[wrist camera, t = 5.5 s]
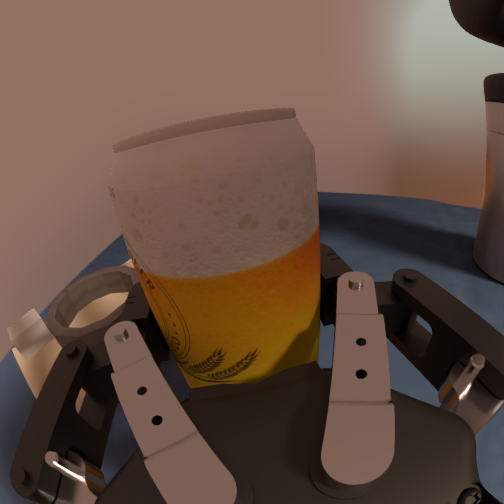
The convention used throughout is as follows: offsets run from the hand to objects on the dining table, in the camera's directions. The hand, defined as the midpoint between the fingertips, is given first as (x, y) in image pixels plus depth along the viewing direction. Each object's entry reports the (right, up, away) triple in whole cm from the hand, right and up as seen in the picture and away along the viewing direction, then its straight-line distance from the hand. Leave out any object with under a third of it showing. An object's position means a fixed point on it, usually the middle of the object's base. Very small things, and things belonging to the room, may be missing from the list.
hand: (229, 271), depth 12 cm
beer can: (+2, -9, +2) cm, 9 cm away
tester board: (-12, -6, +10) cm, 17 cm away
